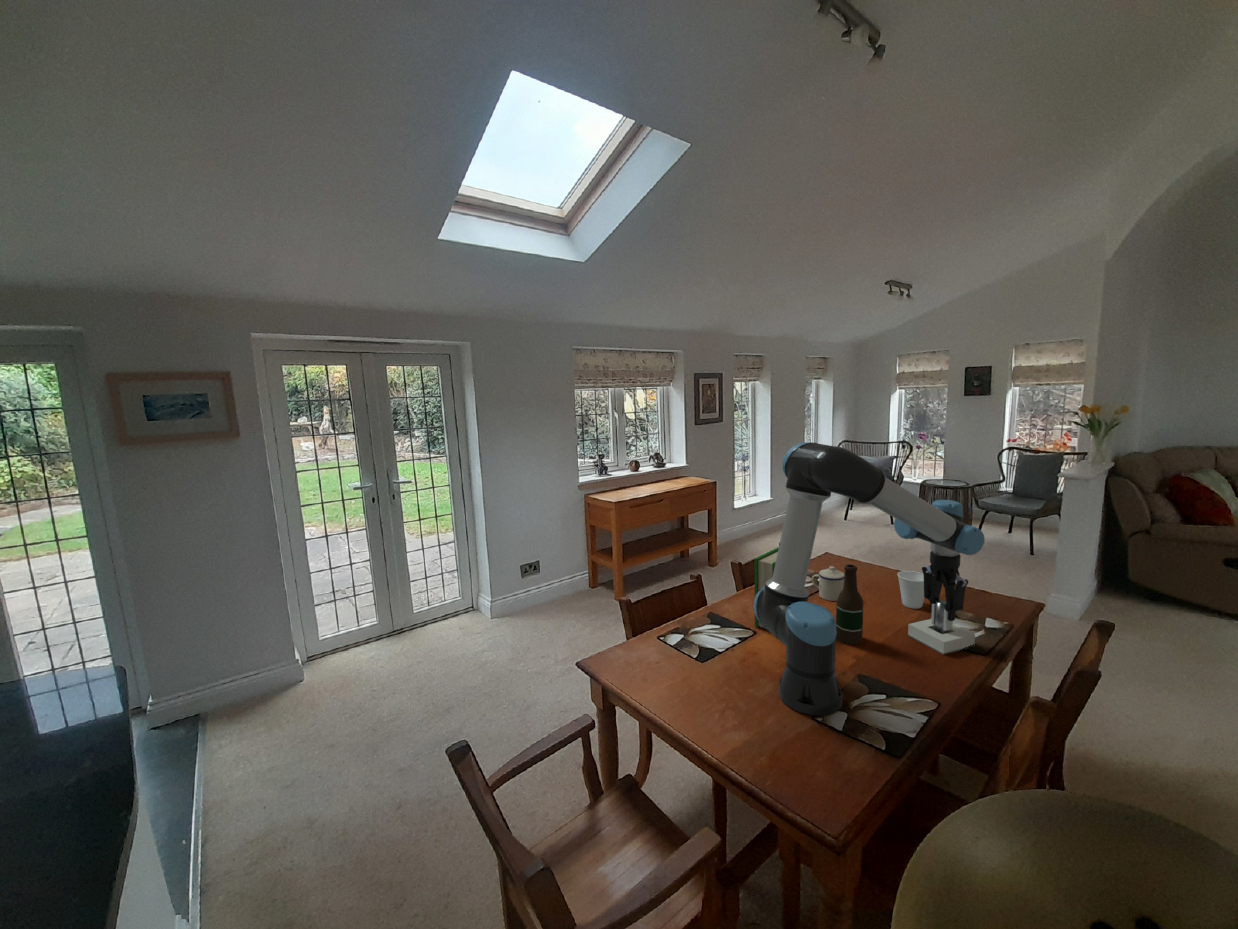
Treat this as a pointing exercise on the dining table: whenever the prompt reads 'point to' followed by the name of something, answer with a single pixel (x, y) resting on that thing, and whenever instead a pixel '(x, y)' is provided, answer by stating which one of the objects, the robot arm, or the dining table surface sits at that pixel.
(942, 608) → the pin
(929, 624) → the bore block
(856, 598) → the beer bottle
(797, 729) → the dining table surface
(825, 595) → the teacup with lid
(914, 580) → the cup
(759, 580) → the hardback book
